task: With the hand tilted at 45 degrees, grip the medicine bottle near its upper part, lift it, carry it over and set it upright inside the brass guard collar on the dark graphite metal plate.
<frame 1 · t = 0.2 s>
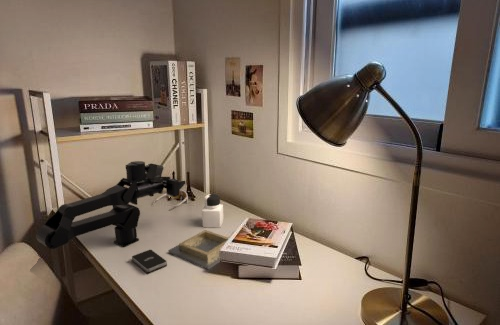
hand: (177, 180, 142), 17 cm above the table, tool horizontal, fingers open, 9 cm apart
medicine bottle: (213, 224, 140), on the table
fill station: (206, 249, 120), on the table
sunglasses: (171, 204, 163), on the table
external hard drive: (149, 265, 112), on the table
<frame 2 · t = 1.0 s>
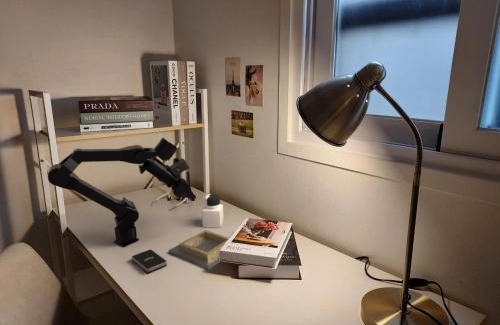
hand: (191, 194, 133), 14 cm above the table, tool tilted 45°, fingers open, 9 cm apart
nothing on the table moved.
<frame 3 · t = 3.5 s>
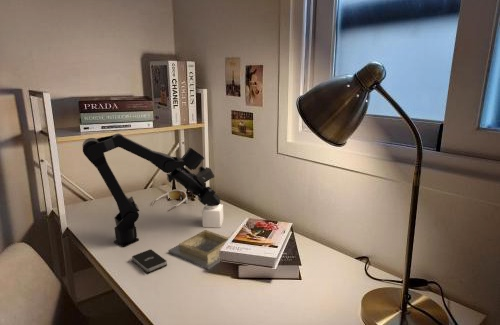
hand: (215, 201, 138), 9 cm above the table, tool tilted 45°, fingers closed on medicine bottle, 6 cm apart
medicine bottle: (213, 224, 140), on the table, touching gripper
everything else where it was.
when the fingers open (11 cm above the table, at t = 7.3 s): medicine bottle stays where it is, resting on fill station.
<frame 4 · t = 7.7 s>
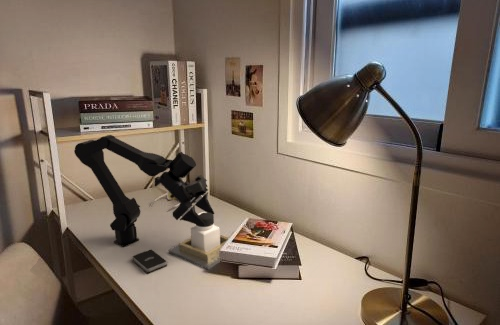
hand: (209, 219, 117), 11 cm above the table, tool tilted 45°, fingers open, 9 cm apart
medicine bottle: (206, 247, 120), point 1 cm above the table, touching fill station
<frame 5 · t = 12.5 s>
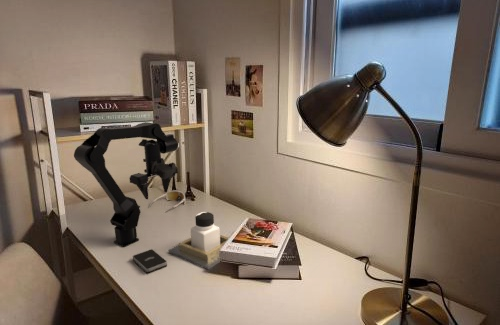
hand: (156, 195, 135), 13 cm above the table, tool pointing down, fingers open, 9 cm apart
at the end: medicine bottle 0.2 cm off-centre on the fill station, point 0.8 cm above the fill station's base; medicine bottle tilted 0°; the gripper is holding nothing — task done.
